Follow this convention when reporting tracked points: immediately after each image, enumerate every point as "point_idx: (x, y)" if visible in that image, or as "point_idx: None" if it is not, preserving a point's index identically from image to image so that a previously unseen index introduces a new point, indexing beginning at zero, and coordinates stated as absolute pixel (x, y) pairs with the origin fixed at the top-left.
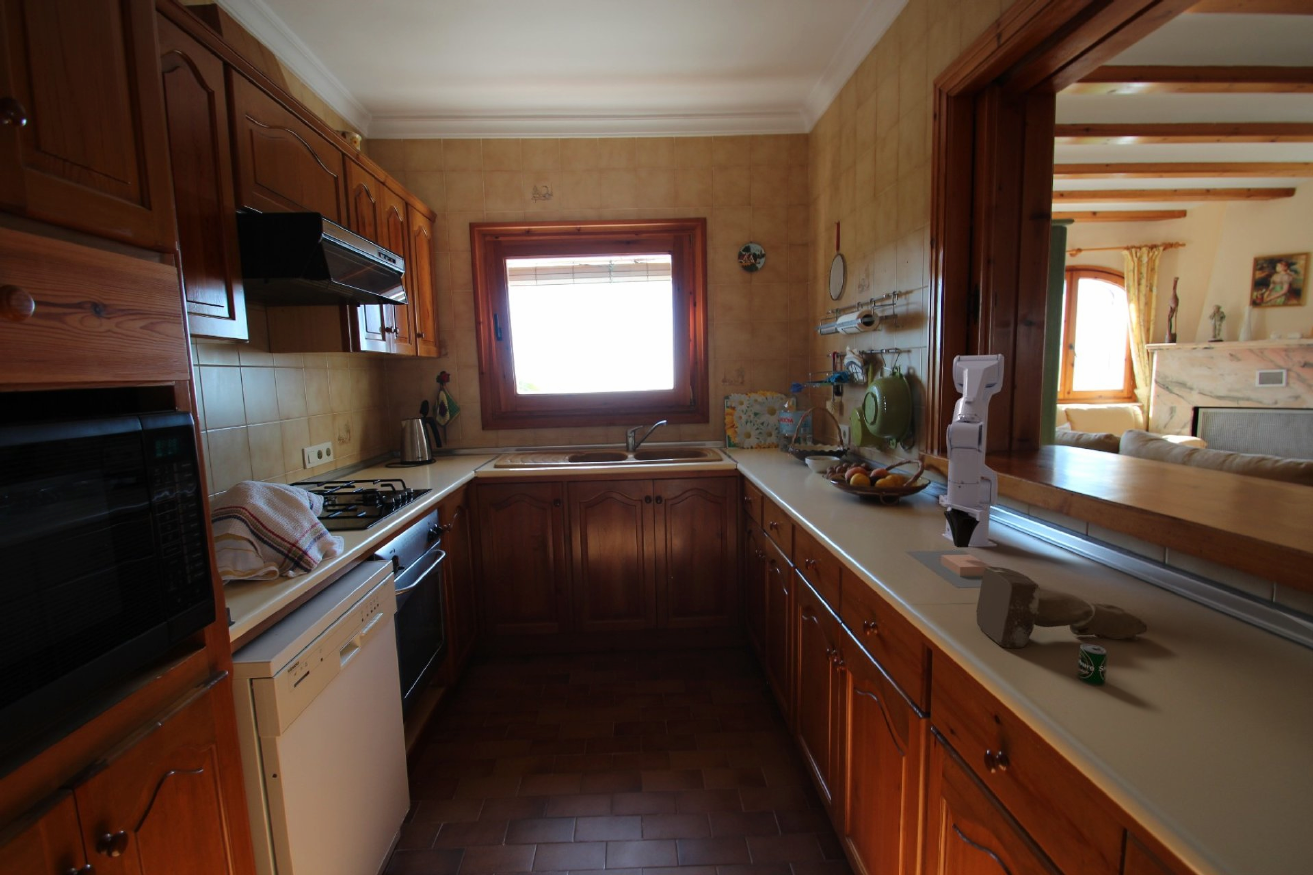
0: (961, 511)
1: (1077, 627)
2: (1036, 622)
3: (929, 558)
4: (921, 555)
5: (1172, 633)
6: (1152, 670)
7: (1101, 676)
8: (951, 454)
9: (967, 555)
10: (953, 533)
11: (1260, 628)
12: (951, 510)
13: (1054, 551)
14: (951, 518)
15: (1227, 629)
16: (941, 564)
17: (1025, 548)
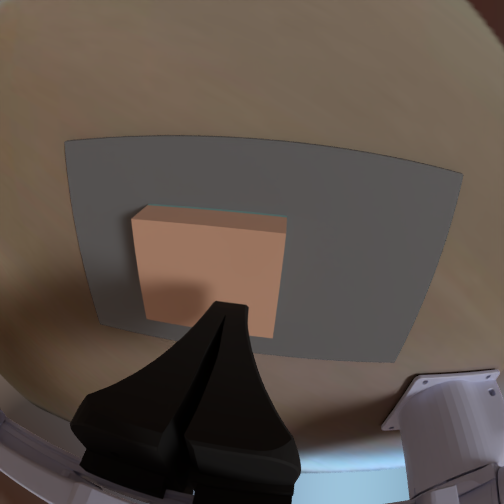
0: (135, 486)
1: None
2: None
3: (365, 215)
4: (406, 207)
5: (5, 346)
6: None
7: None
8: None
9: (265, 326)
10: (223, 342)
11: (53, 414)
12: (271, 490)
13: (317, 465)
14: (161, 412)
15: (38, 394)
16: (283, 216)
17: (349, 450)
